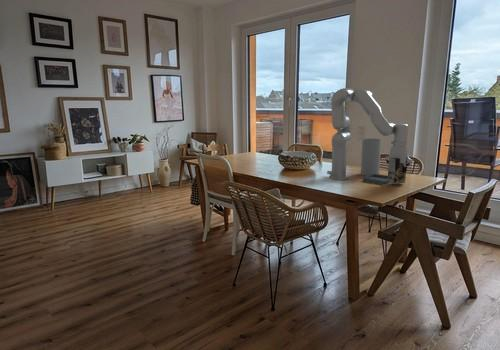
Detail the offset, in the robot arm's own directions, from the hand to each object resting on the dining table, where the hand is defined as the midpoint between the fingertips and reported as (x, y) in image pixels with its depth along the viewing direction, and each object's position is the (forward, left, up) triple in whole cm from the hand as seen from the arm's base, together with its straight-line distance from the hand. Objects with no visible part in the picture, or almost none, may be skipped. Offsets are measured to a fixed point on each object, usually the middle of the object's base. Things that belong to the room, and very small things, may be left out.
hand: (397, 171), depth 216 cm
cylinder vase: (-25, +16, -8) cm, 31 cm away
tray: (-12, +2, -8) cm, 15 cm away
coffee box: (0, 0, -7) cm, 7 cm away
